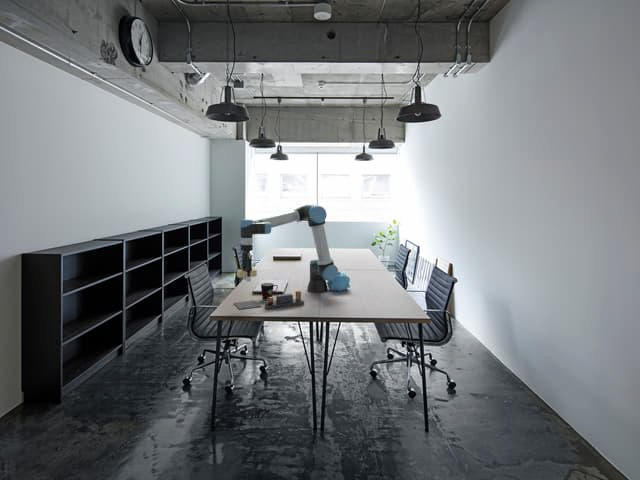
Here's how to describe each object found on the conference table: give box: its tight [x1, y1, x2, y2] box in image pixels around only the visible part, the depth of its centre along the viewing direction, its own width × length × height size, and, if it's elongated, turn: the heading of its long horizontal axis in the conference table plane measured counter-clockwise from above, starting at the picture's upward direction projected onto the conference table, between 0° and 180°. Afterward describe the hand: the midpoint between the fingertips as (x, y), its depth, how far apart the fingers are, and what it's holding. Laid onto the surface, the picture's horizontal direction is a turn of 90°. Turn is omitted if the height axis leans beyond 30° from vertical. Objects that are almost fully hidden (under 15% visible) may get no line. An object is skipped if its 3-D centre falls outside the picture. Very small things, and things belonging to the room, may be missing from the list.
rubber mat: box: [233, 300, 262, 311], centre depth 240 cm, size 14×14×1 cm
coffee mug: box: [260, 282, 279, 301], centre depth 256 cm, size 12×9×10 cm
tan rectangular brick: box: [236, 268, 258, 279], centre depth 238 cm, size 11×6×4 cm, turn 117°
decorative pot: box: [326, 271, 351, 292], centre depth 282 cm, size 16×16×14 cm
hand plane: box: [264, 290, 305, 310], centre depth 240 cm, size 24×7×8 cm, turn 117°
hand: (246, 280), depth 238 cm, fingers closed on tan rectangular brick, 6 cm apart
